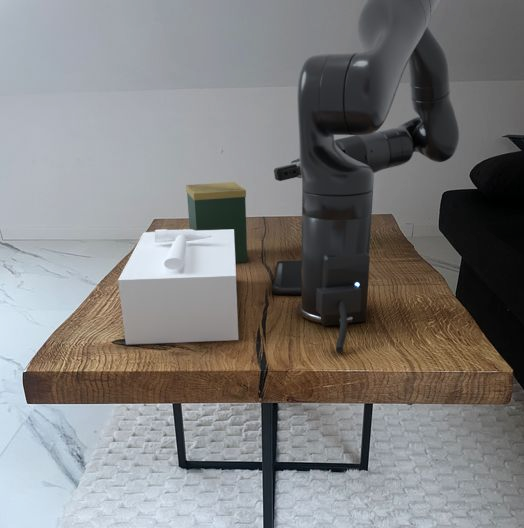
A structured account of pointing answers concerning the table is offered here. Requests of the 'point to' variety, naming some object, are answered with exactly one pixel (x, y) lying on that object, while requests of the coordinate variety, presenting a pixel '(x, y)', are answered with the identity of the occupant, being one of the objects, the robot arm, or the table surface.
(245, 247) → the tea tin
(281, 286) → the phone
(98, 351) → the table surface
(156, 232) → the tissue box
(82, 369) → the table surface
